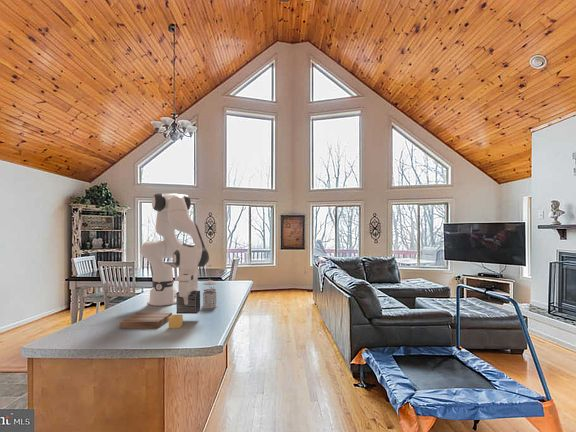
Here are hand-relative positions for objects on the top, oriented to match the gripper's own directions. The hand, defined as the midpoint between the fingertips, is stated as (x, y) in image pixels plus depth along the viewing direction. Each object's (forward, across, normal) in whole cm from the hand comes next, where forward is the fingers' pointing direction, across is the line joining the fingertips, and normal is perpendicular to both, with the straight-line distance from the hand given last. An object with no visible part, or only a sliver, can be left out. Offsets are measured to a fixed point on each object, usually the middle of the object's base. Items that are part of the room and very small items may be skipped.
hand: (188, 302), depth 177 cm
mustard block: (+9, +11, -3) cm, 15 cm away
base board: (+9, +5, -19) cm, 21 cm away
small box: (+5, 0, 0) cm, 5 cm away
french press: (+9, -32, +3) cm, 33 cm away
